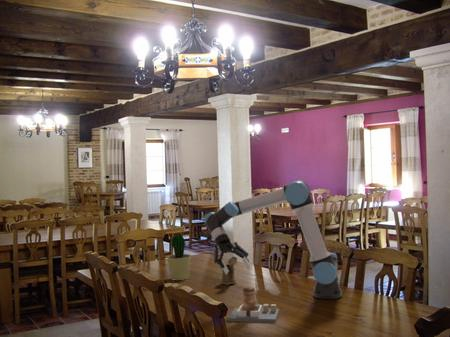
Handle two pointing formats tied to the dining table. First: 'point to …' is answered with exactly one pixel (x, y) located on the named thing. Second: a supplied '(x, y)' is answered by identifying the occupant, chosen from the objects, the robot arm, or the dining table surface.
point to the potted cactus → (179, 259)
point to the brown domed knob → (249, 299)
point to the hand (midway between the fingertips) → (238, 270)
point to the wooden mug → (230, 276)
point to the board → (255, 314)
